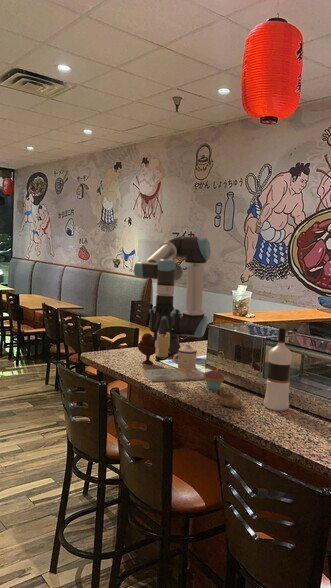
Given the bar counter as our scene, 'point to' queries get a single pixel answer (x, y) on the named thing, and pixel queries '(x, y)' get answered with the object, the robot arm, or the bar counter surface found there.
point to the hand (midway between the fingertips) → (162, 347)
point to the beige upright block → (162, 346)
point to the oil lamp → (228, 399)
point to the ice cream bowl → (147, 347)
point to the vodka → (278, 375)
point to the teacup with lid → (186, 357)
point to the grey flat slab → (173, 374)
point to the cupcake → (214, 378)
